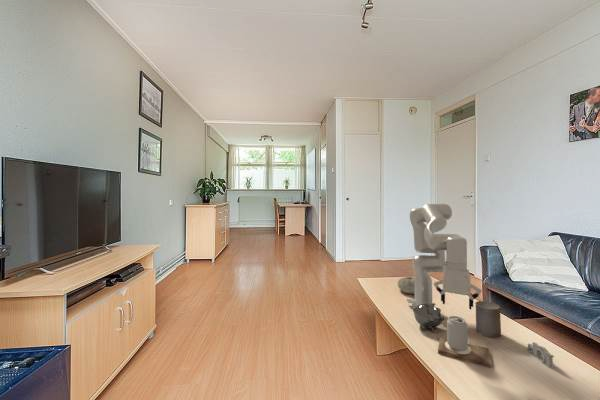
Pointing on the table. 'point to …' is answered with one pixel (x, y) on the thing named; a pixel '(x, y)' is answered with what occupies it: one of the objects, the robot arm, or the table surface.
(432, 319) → the piggy bank
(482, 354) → the board
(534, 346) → the lattice window wall
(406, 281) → the decorative shell
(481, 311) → the pillar candle
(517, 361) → the table surface
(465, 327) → the can
